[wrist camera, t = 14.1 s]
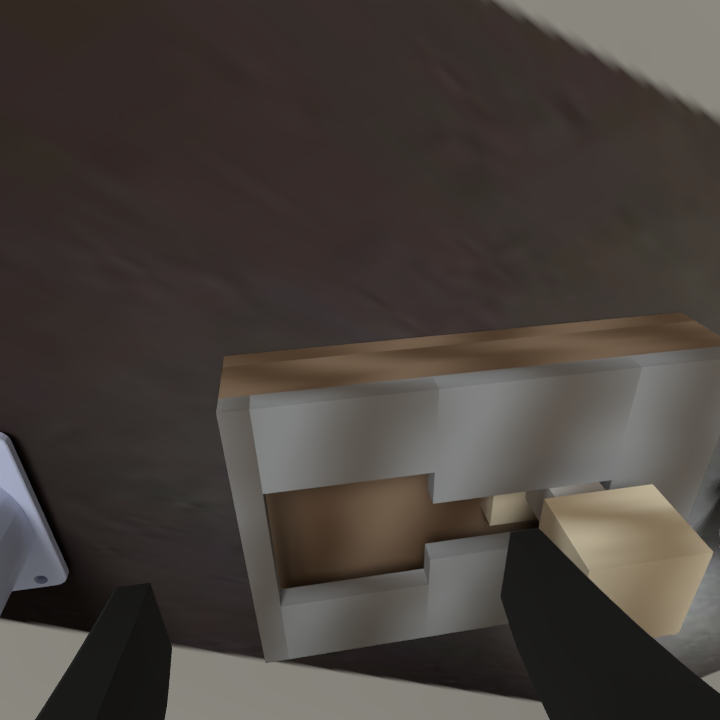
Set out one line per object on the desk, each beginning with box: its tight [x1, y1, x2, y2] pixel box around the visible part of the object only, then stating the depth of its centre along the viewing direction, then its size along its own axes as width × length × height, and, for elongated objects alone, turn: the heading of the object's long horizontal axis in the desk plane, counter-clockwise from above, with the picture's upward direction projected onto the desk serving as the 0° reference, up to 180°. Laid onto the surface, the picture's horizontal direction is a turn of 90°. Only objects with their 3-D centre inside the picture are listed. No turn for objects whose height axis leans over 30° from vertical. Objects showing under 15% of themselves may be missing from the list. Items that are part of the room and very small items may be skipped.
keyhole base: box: [216, 312, 720, 663], centre depth 22 cm, size 18×13×4 cm
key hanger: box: [481, 482, 713, 638], centre depth 20 cm, size 5×5×7 cm
